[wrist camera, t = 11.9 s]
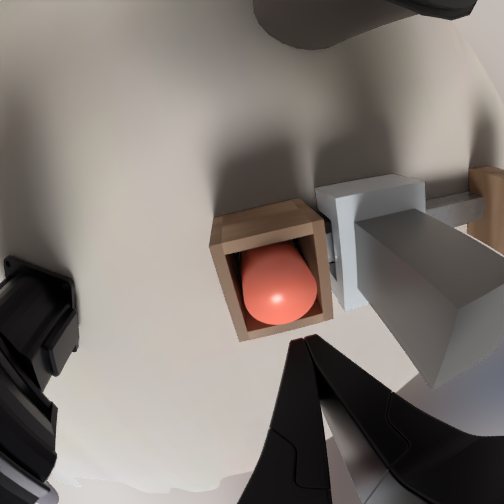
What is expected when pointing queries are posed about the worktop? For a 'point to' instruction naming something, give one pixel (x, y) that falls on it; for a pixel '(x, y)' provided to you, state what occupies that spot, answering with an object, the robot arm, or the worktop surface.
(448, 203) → the handrail
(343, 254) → the plate
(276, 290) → the gauge button
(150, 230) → the worktop surface
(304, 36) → the coffee cup
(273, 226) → the cabinet
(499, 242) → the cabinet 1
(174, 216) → the worktop surface
